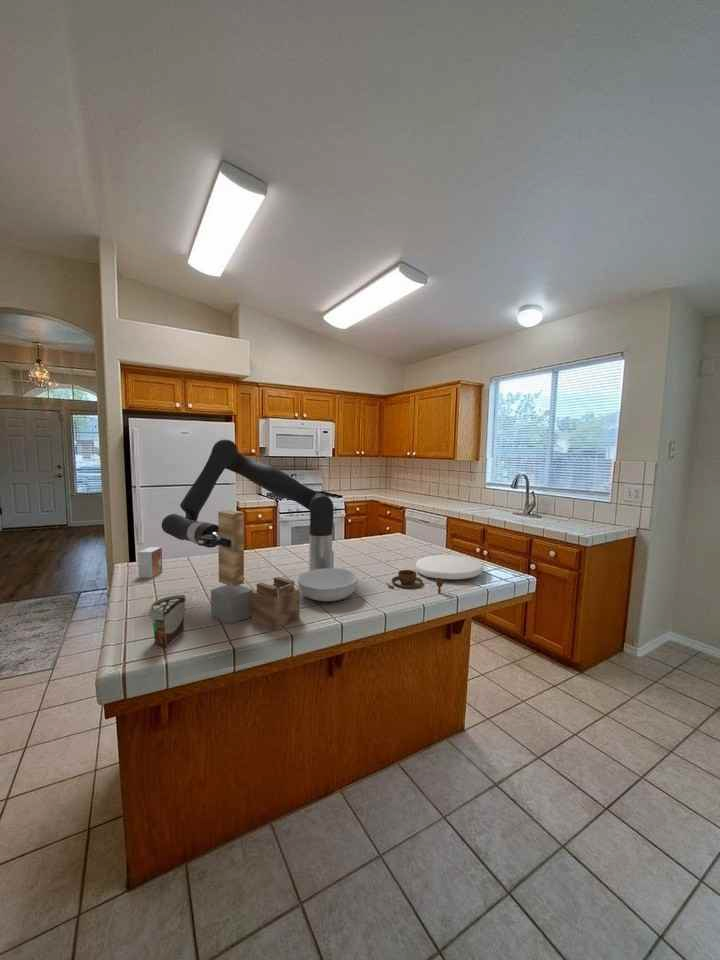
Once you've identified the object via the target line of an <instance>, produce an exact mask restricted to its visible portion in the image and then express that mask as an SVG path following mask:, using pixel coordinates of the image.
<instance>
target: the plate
mask: <svg viewBox="0 0 720 960" xmlns="http://www.w3.org/2000/svg"><path fill="white" fill-rule="evenodd" d="M415 571H416V572H417V573H419V575H422V576H424V577H427V578H432V579H436V578H442V579H443V580H466V579H471V578H475V577H477V576H480V575H481V574H482V573H483V571H484V565H483V562H481V561H480V560H478V559H475V558H473V557H468V556H461V555H452V554H451V555H450V554H438V555H437V554H436V555H430V556H425V557H422V558H420V559H418V560H417V561H415Z"/></svg>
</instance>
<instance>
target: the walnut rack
mask: <svg viewBox="0 0 720 960" xmlns="http://www.w3.org/2000/svg"><path fill="white" fill-rule="evenodd" d="M251 612H252V616H251V622H253V623H255V624H258V625H260V626H262V627H264V628H267V629H270V630H271V631H274V630H275V631H277V630H278V628H279V629H281V628H283V627H284V625H285V626H286V624H287V625H288V623H289V624H291V623H293V622H295V621H297V620H300V588H299V589H298V588H295V580H291V579H289V578H288V579H287V578H284V577H280V576H276V577H274V578H273V583H272V584H269V583H268V584H267V583H265V582H259V583H256V590H253V591H252V592H251ZM292 621H293V622H292ZM290 622H291V623H290ZM282 626H283V627H282ZM280 627H281V628H280ZM276 629H277V630H276Z"/></svg>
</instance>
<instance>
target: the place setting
mask: <svg viewBox="0 0 720 960" xmlns="http://www.w3.org/2000/svg"><path fill="white" fill-rule="evenodd" d="M397 573H398V574H397V576H394V577H393V578H391V584H392V585H391V584H389V583H388V582H385V584H386V585H388V586H387V587H388V588H389V589H394V587H397V588H400V589H407V590H408V589H412V590H413V589H417V588H420V587H422V586H423V583H424V581H423V580H422V579H421V578H420V577H417V571H414V570H412V569H410V570H409V569H402V570H399V571H398V572H397ZM435 580H436V581H435V583H436V585H435V586H437V588H438V589H437V594H438V595H442V592H441V591H442V590H441V588H442V587H443V585H444V579H442V578H435ZM396 581H399V582H400V583H402V584H399V583H397V582H396ZM415 582H418V583H419V584H414V583H415ZM413 584H414V585H413Z"/></svg>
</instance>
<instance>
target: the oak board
mask: <svg viewBox="0 0 720 960" xmlns="http://www.w3.org/2000/svg"><path fill="white" fill-rule="evenodd" d="M244 515H245V513H244V512H243V511H237V510H233V509H226V510H225V509H224V510H218V511H217V517H218V518H217V520H218V521H217V523H218V535H219V537H222V538H225V539H228V540H231V547H229V548H228V547H224V546H218V583H221V584H224V585H229V586H231V587H234V586H237V585H240V586H241V585H244V584H245V562H244V561H245V555H244V554H245V550H244V549H245V535H244V534H245V532H244V530H245V523H244V520H245V518H244Z"/></svg>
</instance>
